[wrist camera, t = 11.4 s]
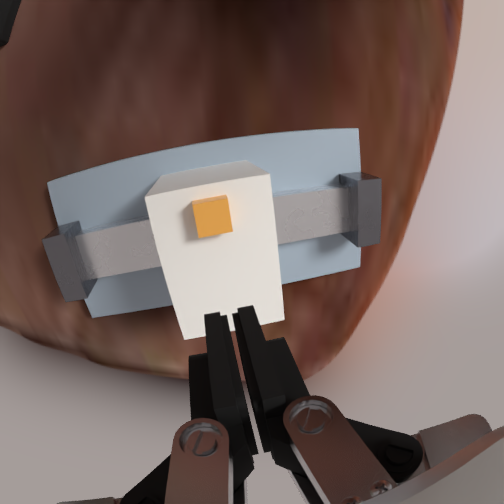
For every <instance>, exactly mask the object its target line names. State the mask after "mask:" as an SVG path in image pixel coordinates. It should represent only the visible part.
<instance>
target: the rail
mask: <svg viewBox="0 0 504 504" xmlns="http://www.w3.org/2000/svg"><path fill="white" fill-rule="evenodd" d="M272 196H273V205H274V214H275V224H276V234H277V243H278V244H284V243H289V242H294V241H300V240H305V239H311V238H316V237H322V236H327V235H333V234H338V233H341V235H342V236H344V237H345V238H346V239H348V240H349V241H350V242H351V243H353V244H354V245H355V246H356V247H358V248H359V247H364V246H369V245H373V244H378V243H380V231H381V178H378V177H375V176H372V175H369V174H366V173H363V172H352V173H342V174H339V183H337V184H329V185H321V186H313V187H305V188H298V189H291V190H284V191H277V192H272ZM42 242H43V245H44V248H45V251H46V254H47V256H48V259H49V262H50V265H51V267H52V270H53V273H54V275H55V278H56V280H57V283H58V285H59V288H60V290H61V293H62V295H63V297H64V299H65V302H70V301H76V300H82V299H87V298H88V297H89V295H90V293H91V291H92V289H93V287H94V285H95V284H96V282H97V280H98V278H101V277H106V276H112V275H117V274H122V273H128V272H133V271H138V270H144V269H149V268H154V267H160V266H162V265H161V262H160V258H159V254H158V251H157V247H156V243H155V239H154V235H153V231H152V227H151V223H150V219H149V215H143V216H138V217H134V218H129V219H125V220H120V221H116V222H112V223H107V224H103V225H99V226H95V227H90V228H86V229H81V225H80V222H79V220H78V221H75V222H71V223H67V224H63V225H60V226H58V227H56V228H55V229H54V230H53V231H51V232H50V233H49V234H48V235H47V236H46V237H44V238H43V239H42Z"/></svg>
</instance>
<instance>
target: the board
mask: <svg viewBox="0 0 504 504" xmlns="http://www.w3.org/2000/svg"><path fill="white" fill-rule="evenodd" d="M243 160H247V161H249V162H250V163H252V164H254V165H256V166H257V167H259V168H261V169H262V170H264V171H266V172H268V173H269V174H270V178H271V187H272V192H277V191H284V190H291V189H298V188H305V187H313V186H321V185H329V184H337V183H339V174H342V173H352V172H361V168H360V147H359V132H358V128H335V129H315V130H301V131H288V132H277V133H268V134H259V135H250V136H242V137H235V138H228V139H221V140H215V141H208V142H202V143H197V144H191V145H186V146H180V147H175V148H170V149H165V150H161V151H156V152H151V153H147V154H143V155H138V156H134V157H130V158H126V159H122V160H118V161H114V162H110V163H107V164H103V165H99V166H96V167H92V168H89V169H86V170H82V171H79V172H76V173H72V174H69V175H66V176H63V177H60V178H57V179H54V180H52V181H50V182H47V185H48V189H49V193H50V197H51V201H52V205H53V209H54V213H55V216H56V220H57V223H58V226H60V225H63V224H67V223H71V222H75V221H78V220H79V222H80V225H81V229H86V228H90V227H95V226H99V225H103V224H107V223H112V222H116V221H120V220H125V219H129V218H134V217H138V216H143V215H148V210H147V206H146V202H145V196H146V194H147V193H148V192H149V190H150V189H151V188H152V187H153V185H154V184H155V183H156V181H157V180H158V179H159V178H160V176H161V175H166V174H171V173H176V172H181V171H186V170H191V169H196V168H202V167H207V166H213V165H219V164H224V163H231V162H237V161H243ZM278 253H279V264H280V274H281V284H285V283H290V282H295V281H300V280H304V279H309V278H313V277H318V276H322V275H327V274H331V273H336V272H340V271H345V270H349V269H353V268H357V267H360V254H361V247H359V248H358V247H356V246H355V245H354V244H353V243H351V242H350V241H349V240H348V239H346V238H345V237H344V236H342V235H341V233H338V234H333V235H327V236H322V237H316V238H311V239H305V240H300V241H294V242H289V243H284V244H278ZM84 300H85V302H86V304H87V307H88V309H89V311H90V314H91V316H92V318H94V317H101V316H108V315H115V314H121V313H128V312H134V311H140V310H146V309H152V308H158V307H164V306H170V305H173V303H172V300H171V296H170V293H169V290H168V286H167V283H166V279H165V276H164V272H163V269H162V266H160V267H154V268H149V269H144V270H138V271H133V272H128V273H122V274H117V275H112V276H106V277H101V278H98V280H97V282H96V284H95V285H94V287H93V289H92V291H91V293H90V295H89V297H88V298H87V299H84Z"/></svg>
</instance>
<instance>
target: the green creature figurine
mask: <svg viewBox="0 0 504 504" xmlns="http://www.w3.org/2000/svg"><path fill="white" fill-rule="evenodd" d="M20 2H21V0H0V47H1V46H3V45H5V44H6V43H7V42H8V40H9V37H10V33H11V30H12V26H13V23H14V20H15V17H16V14H17V11H18V8H19V5H20Z"/></svg>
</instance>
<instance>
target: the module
mask: <svg viewBox="0 0 504 504" xmlns="http://www.w3.org/2000/svg"><path fill="white" fill-rule="evenodd" d="M145 202H146V206H147V210H148V215H149V219H150V223H151V227H152V231H153V235H154V239H155V243H156V247H157V251H158V254H159V258H160V262H161V265H162V269H163V272H164V276H165V279H166V283H167V286H168V290H169V293H170V296H171V300H172V303H173V306H174V309H175V312H176V315H177V319H178V322H179V325H180V328H181V331H182V334H183V337H184V340H186V339H192V338H197V337H203V336H206V334H205V323H204V314H209V313H215V312H220V315H221V316H222V315H227V318H228V323H229V328H230V331H234V330H235V327H234V322H233V317H232V313H237V312H238V311H237V308H240V307H245V306H250V305H253V306H254V309H255V312H256V315H257V317H258V320H259V323H260V325H263V324H268V323H272V322H277V321H281V320H285V319H284V308H283V296H282V285H281V274H280V264H279V253H278V243H277V234H276V224H275V214H274V205H273V196H272V187H271V178H270V174H269V173H268V172H266V171H264V170H262V169H261V168H259V167H257V166H256V165H254V164H252V163H250V162H249V161H247V160H243V161H237V162H231V163H224V164H219V165H213V166H207V167H202V168H196V169H191V170H186V171H181V172H176V173H171V174H166V175H161V176H160V178H159V179H158V180H157V181H156V183H155V184H154V185H153V187H152V188H151V189H150V190H149V192H148V193H147V194H146V196H145Z"/></svg>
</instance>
